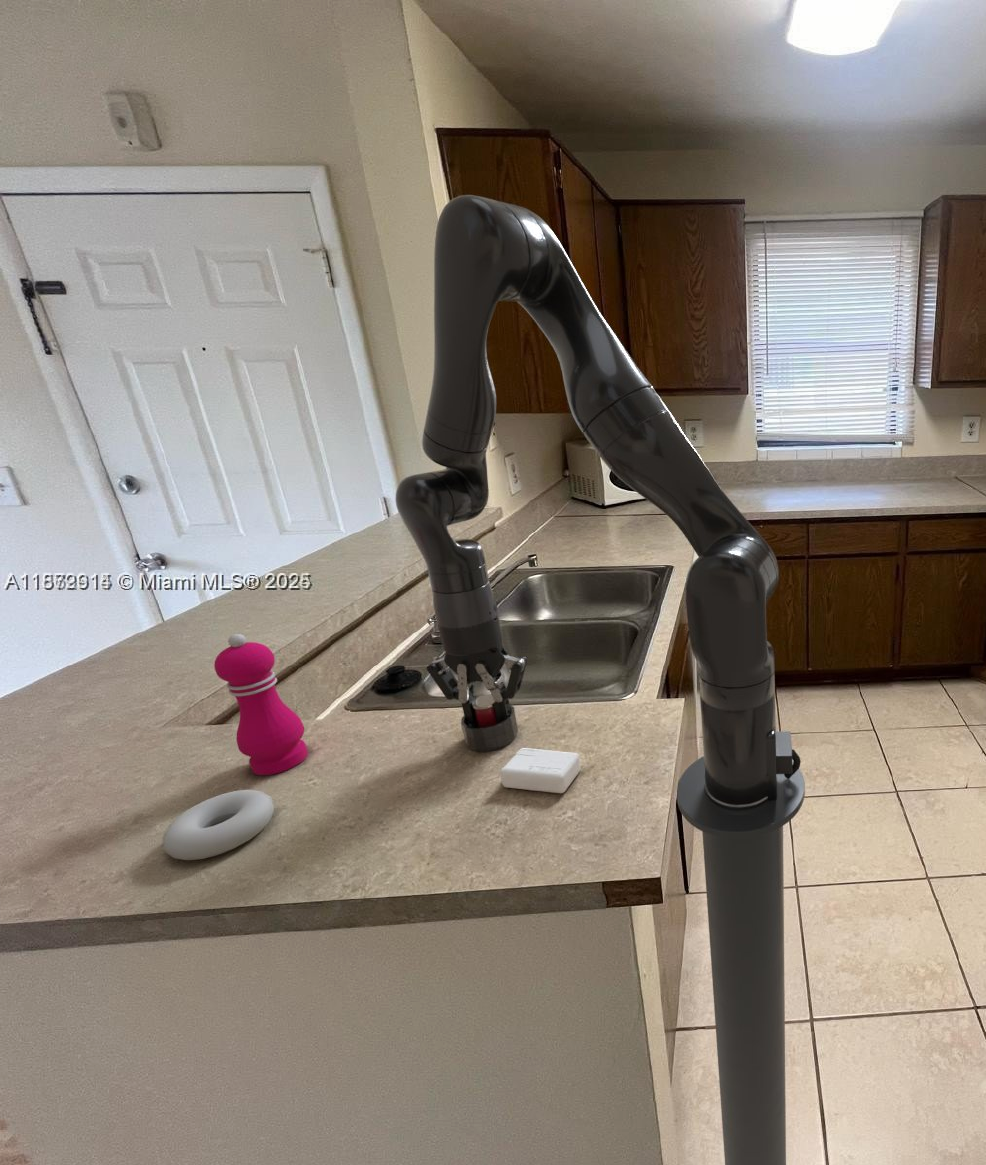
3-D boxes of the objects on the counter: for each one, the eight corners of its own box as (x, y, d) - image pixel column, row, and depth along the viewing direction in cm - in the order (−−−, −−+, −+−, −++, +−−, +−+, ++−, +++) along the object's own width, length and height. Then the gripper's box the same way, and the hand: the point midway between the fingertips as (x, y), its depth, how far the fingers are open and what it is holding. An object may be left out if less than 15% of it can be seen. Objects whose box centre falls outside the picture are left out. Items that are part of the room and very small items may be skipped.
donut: (147, 855, 68) (203, 876, 65) (136, 832, 67) (192, 851, 64) (244, 799, 77) (297, 815, 74) (235, 777, 76) (289, 792, 73)
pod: (506, 714, 90) (502, 693, 89) (496, 728, 87) (492, 706, 85) (482, 715, 90) (478, 694, 89) (471, 728, 87) (467, 707, 85)
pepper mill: (322, 743, 88) (282, 621, 81) (294, 774, 82) (247, 644, 75) (268, 749, 87) (222, 625, 80) (235, 781, 80) (182, 649, 74)
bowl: (525, 723, 93) (521, 701, 91) (507, 752, 86) (502, 728, 85) (479, 724, 93) (474, 702, 91) (457, 753, 86) (451, 729, 84)
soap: (583, 769, 82) (580, 751, 81) (564, 796, 77) (560, 777, 76) (524, 763, 83) (520, 745, 82) (500, 789, 78) (497, 770, 77)
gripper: (400, 627, 79) (428, 736, 85) (507, 625, 79) (527, 734, 85) (430, 605, 86) (454, 708, 92) (528, 603, 86) (545, 706, 92)
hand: (489, 720), depth 88 cm, fingers closed on pod, 3 cm apart
